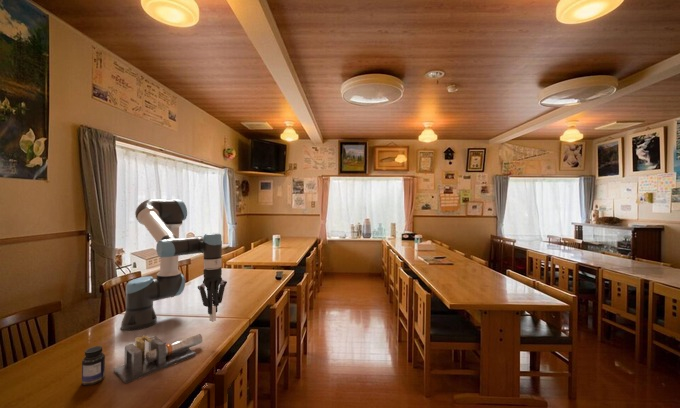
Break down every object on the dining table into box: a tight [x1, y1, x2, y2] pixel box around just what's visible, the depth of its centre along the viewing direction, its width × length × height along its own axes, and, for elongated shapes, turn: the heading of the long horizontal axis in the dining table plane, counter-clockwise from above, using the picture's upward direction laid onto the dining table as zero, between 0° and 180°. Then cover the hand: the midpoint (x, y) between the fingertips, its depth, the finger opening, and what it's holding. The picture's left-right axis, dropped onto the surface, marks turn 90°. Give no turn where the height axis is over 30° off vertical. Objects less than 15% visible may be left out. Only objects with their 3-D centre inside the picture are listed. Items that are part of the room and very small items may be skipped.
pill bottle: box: [81, 345, 106, 386], centre depth 102 cm, size 6×6×11 cm
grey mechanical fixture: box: [113, 335, 196, 385], centre depth 114 cm, size 12×24×9 cm, turn 143°
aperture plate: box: [134, 335, 151, 360], centre depth 112 cm, size 7×3×9 cm, turn 53°
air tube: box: [145, 333, 203, 363], centre depth 119 cm, size 20×4×4 cm, turn 143°
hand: (212, 320), depth 131 cm, fingers closed
